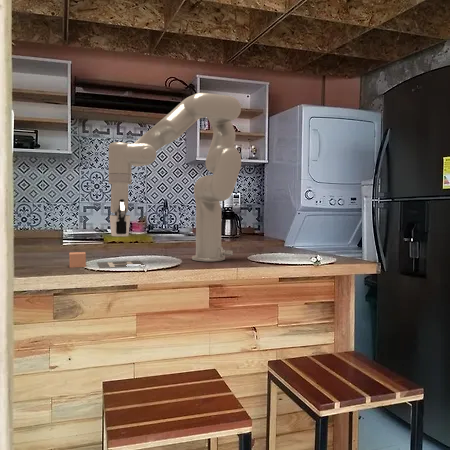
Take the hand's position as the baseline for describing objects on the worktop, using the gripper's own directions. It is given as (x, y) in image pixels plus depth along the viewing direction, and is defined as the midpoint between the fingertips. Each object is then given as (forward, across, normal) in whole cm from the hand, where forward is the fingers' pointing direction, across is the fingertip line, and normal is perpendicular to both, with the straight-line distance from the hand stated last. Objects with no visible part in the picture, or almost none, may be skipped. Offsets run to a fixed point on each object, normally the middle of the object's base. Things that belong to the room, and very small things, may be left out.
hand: (120, 232), depth 152 cm
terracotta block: (+12, 0, -14) cm, 18 cm away
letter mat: (+11, 0, 0) cm, 11 cm away
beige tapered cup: (+1, 0, 0) cm, 1 cm away
